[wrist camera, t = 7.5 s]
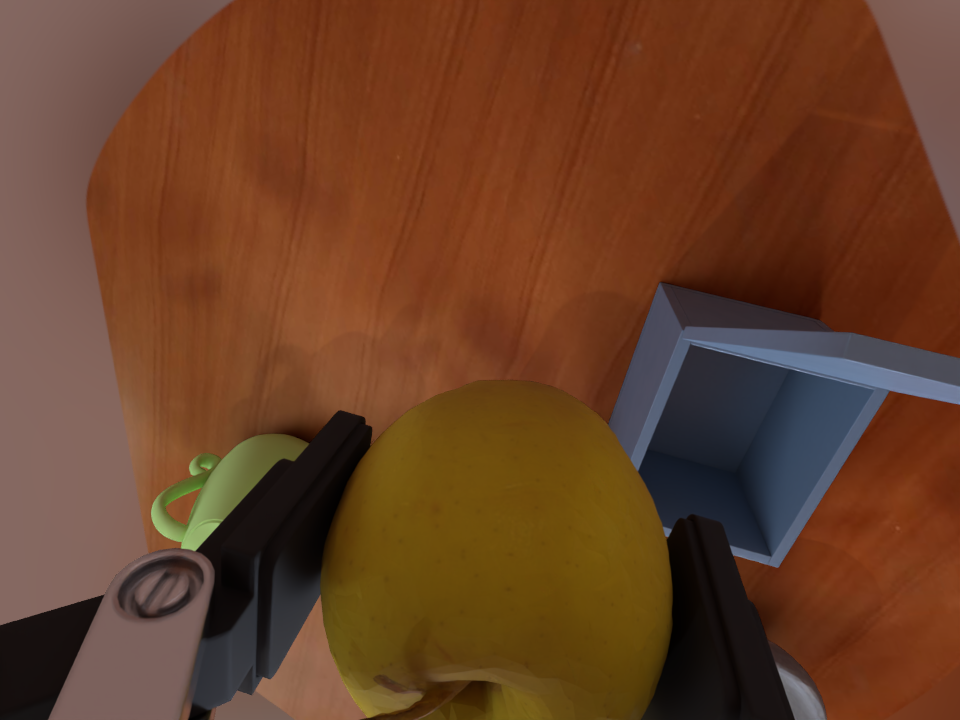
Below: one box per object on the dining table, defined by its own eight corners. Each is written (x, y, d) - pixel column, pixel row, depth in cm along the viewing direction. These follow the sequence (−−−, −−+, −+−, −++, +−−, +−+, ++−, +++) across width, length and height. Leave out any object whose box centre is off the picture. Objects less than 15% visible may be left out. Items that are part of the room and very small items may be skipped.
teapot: (199, 428, 57) (85, 517, 44) (364, 411, 52) (290, 506, 39) (262, 558, 64) (179, 669, 51) (412, 554, 59) (363, 676, 46)
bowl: (832, 621, 52) (872, 701, 44) (755, 721, 59) (778, 803, 52) (654, 569, 53) (665, 638, 46) (602, 673, 61) (604, 746, 54)
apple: (377, 341, 13) (128, 601, 6) (637, 313, 12) (717, 616, 4) (432, 536, 16) (301, 885, 8) (653, 534, 14) (722, 959, 7)
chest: (738, 476, 47) (778, 567, 37) (602, 440, 48) (606, 519, 38) (820, 320, 40) (895, 382, 30) (659, 281, 41) (682, 329, 31)
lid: (1326, 477, 14) (1338, 449, 14) (841, 358, 15) (850, 332, 15) (897, 392, 30) (902, 379, 30) (681, 338, 31) (685, 326, 31)
